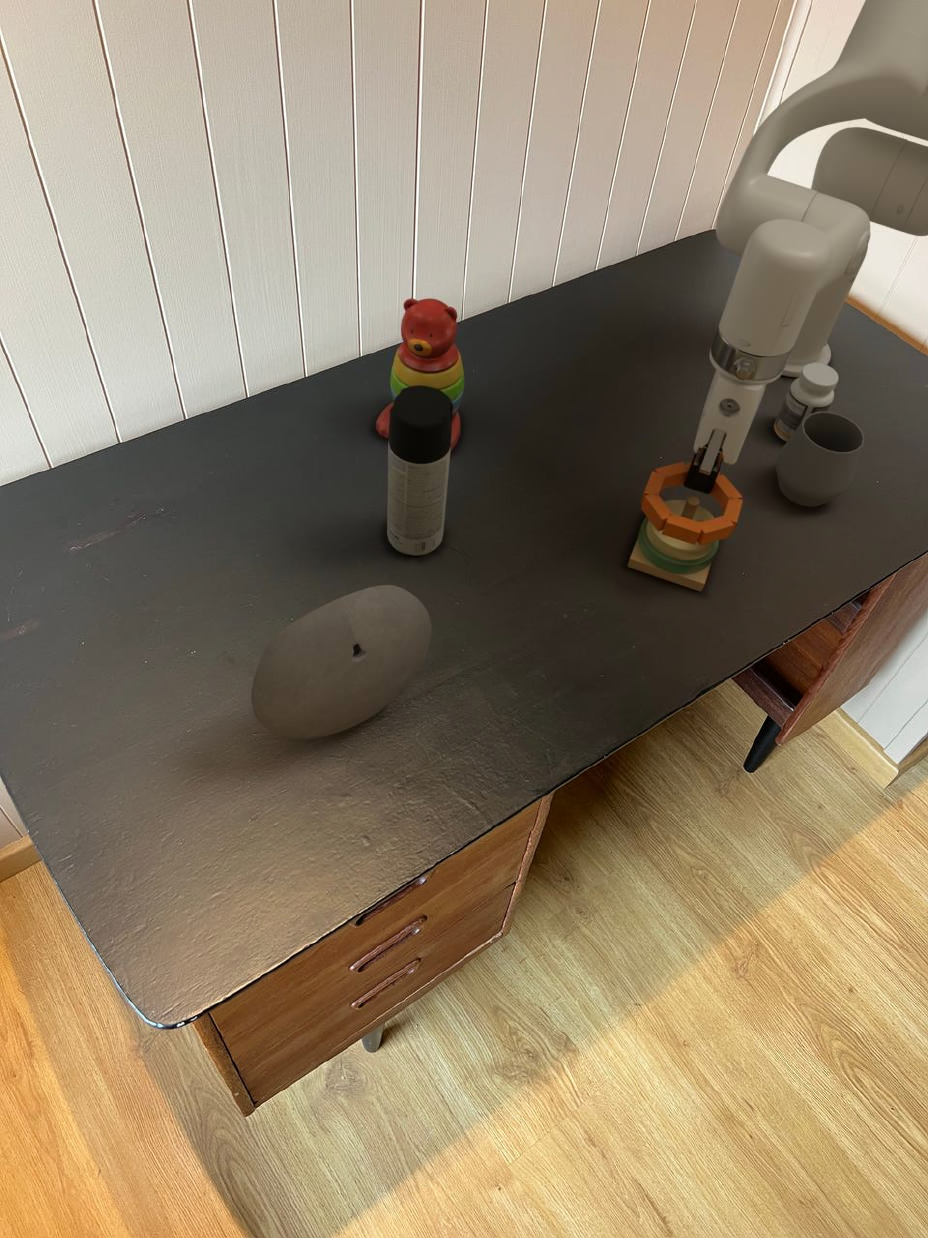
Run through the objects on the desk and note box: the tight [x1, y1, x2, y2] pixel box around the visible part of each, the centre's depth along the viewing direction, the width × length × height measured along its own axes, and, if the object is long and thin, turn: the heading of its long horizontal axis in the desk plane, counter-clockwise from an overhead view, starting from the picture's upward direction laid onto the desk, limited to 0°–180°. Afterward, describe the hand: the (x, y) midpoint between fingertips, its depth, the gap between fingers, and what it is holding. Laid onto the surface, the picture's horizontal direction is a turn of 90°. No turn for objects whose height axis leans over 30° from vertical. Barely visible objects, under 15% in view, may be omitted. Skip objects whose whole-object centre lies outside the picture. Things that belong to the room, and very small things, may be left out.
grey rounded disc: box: [250, 584, 432, 740], centre depth 85 cm, size 18×7×19 cm, turn 123°
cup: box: [775, 411, 866, 508], centre depth 114 cm, size 10×9×10 cm
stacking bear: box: [375, 297, 466, 452], centre depth 113 cm, size 11×10×18 cm
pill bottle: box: [773, 363, 839, 442], centre depth 121 cm, size 6×6×10 cm
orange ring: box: [639, 461, 744, 545], centre depth 103 cm, size 11×11×2 cm
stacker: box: [627, 495, 720, 593], centre depth 106 cm, size 9×9×9 cm
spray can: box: [386, 385, 453, 557], centre depth 100 cm, size 7×7×20 cm
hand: (699, 481), depth 106 cm, fingers closed on orange ring, 1 cm apart
